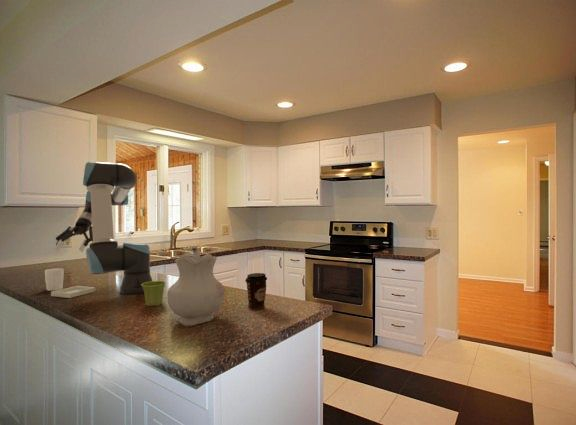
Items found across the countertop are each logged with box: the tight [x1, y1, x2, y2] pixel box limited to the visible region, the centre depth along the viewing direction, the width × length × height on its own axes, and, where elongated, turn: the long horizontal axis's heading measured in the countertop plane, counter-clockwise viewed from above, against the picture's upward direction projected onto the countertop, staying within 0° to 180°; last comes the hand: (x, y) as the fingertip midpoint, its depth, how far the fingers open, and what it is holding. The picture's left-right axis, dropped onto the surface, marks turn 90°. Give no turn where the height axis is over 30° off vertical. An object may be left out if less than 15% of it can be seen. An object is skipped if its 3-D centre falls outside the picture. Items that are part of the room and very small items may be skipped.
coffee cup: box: [244, 272, 268, 311], centre depth 128 cm, size 9×8×13 cm
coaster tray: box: [50, 285, 96, 299], centre depth 157 cm, size 13×13×2 cm
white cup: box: [44, 267, 65, 292], centre depth 167 cm, size 8×8×10 cm
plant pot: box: [141, 280, 167, 307], centre depth 136 cm, size 9×9×9 cm
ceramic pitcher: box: [166, 246, 226, 327], centre depth 117 cm, size 22×20×25 cm
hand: (68, 250), depth 178 cm, fingers open, 13 cm apart
